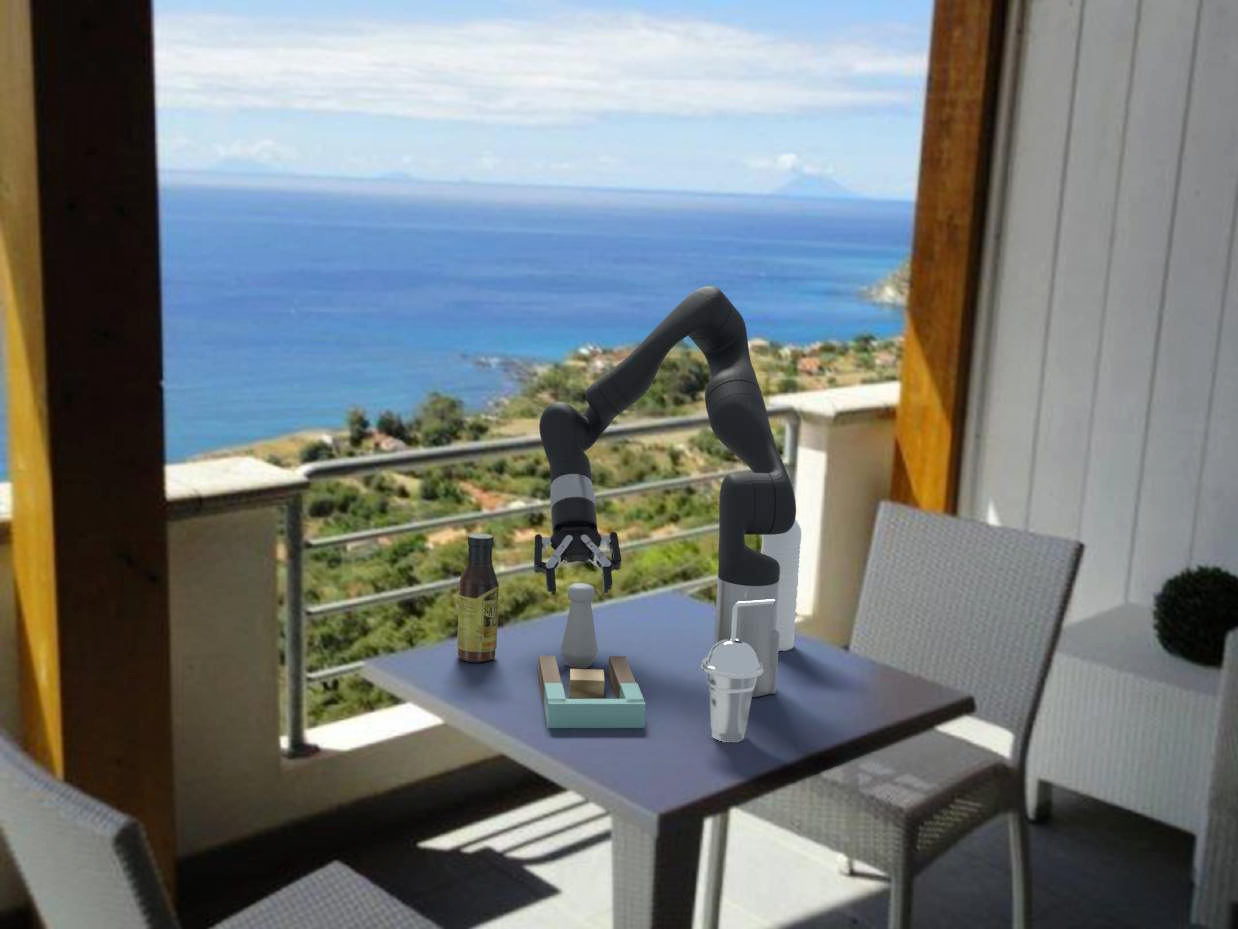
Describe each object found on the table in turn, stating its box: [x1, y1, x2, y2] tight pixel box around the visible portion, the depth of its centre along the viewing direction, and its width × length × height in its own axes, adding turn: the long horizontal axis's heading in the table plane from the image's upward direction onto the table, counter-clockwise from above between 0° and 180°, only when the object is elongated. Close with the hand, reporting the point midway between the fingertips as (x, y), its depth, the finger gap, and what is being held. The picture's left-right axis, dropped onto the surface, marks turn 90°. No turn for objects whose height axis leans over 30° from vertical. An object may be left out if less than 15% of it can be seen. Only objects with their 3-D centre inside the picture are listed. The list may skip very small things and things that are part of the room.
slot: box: [537, 655, 637, 705], centre depth 195 cm, size 13×14×3 cm
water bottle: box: [760, 518, 802, 652], centre depth 218 cm, size 9×6×25 cm
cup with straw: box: [700, 599, 775, 744], centre depth 177 cm, size 8×9×20 cm
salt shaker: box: [560, 582, 599, 669], centre depth 206 cm, size 6×6×13 cm
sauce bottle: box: [456, 533, 500, 663], centre depth 206 cm, size 7×6×20 cm
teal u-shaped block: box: [543, 682, 646, 729], centre depth 184 cm, size 13×8×4 cm, turn 97°
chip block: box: [568, 668, 606, 699], centre depth 194 cm, size 5×5×3 cm
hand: (579, 591), depth 211 cm, fingers open, 8 cm apart
